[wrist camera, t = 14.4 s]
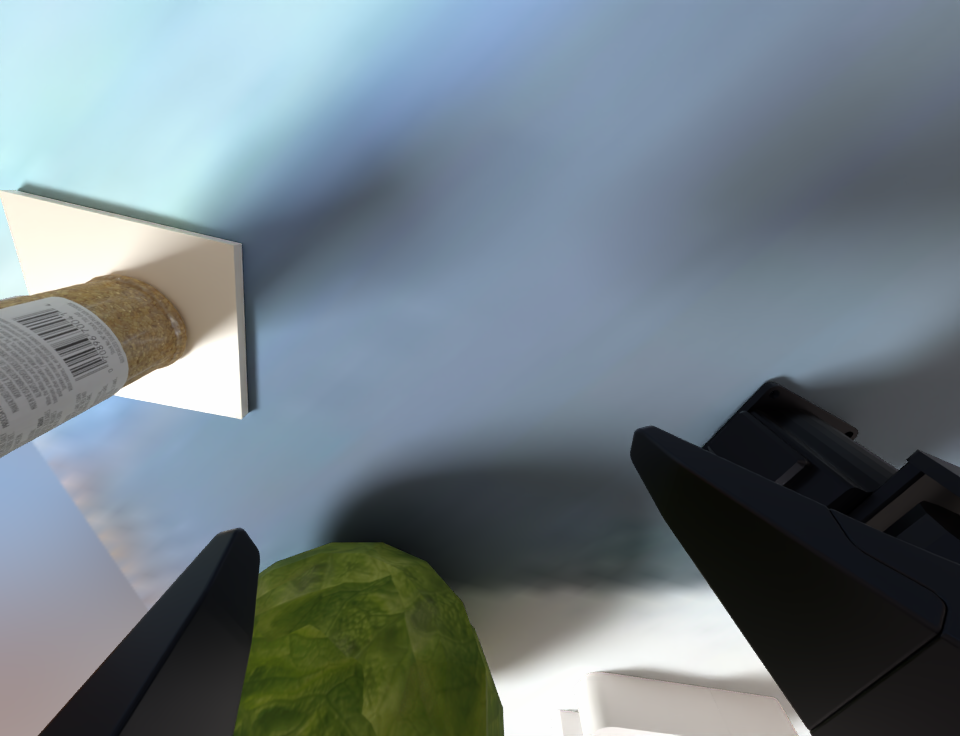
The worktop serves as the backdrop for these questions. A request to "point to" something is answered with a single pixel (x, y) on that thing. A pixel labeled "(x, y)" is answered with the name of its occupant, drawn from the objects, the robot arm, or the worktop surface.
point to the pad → (163, 265)
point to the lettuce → (363, 650)
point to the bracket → (667, 710)
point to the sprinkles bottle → (79, 350)
